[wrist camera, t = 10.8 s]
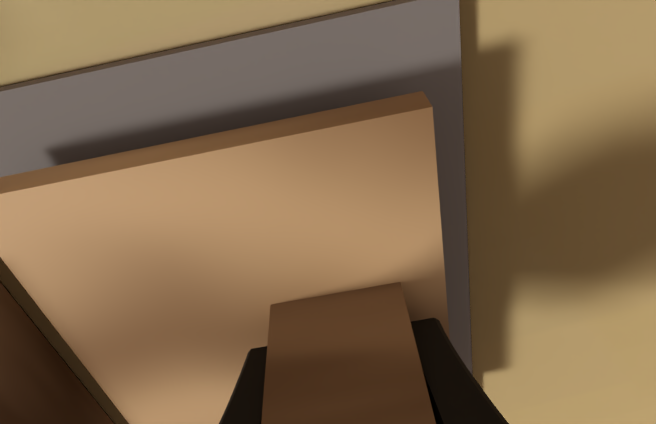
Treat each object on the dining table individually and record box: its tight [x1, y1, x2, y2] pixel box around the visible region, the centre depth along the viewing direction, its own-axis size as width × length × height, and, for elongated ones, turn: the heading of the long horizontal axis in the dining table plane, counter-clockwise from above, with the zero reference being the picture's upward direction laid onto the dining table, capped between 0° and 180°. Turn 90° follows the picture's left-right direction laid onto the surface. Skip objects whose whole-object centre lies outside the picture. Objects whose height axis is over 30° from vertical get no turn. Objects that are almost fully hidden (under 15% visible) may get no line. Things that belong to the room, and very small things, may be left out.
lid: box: [0, 91, 450, 424], centre depth 11 cm, size 11×9×4 cm
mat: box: [0, 0, 473, 376], centre depth 13 cm, size 14×11×1 cm
